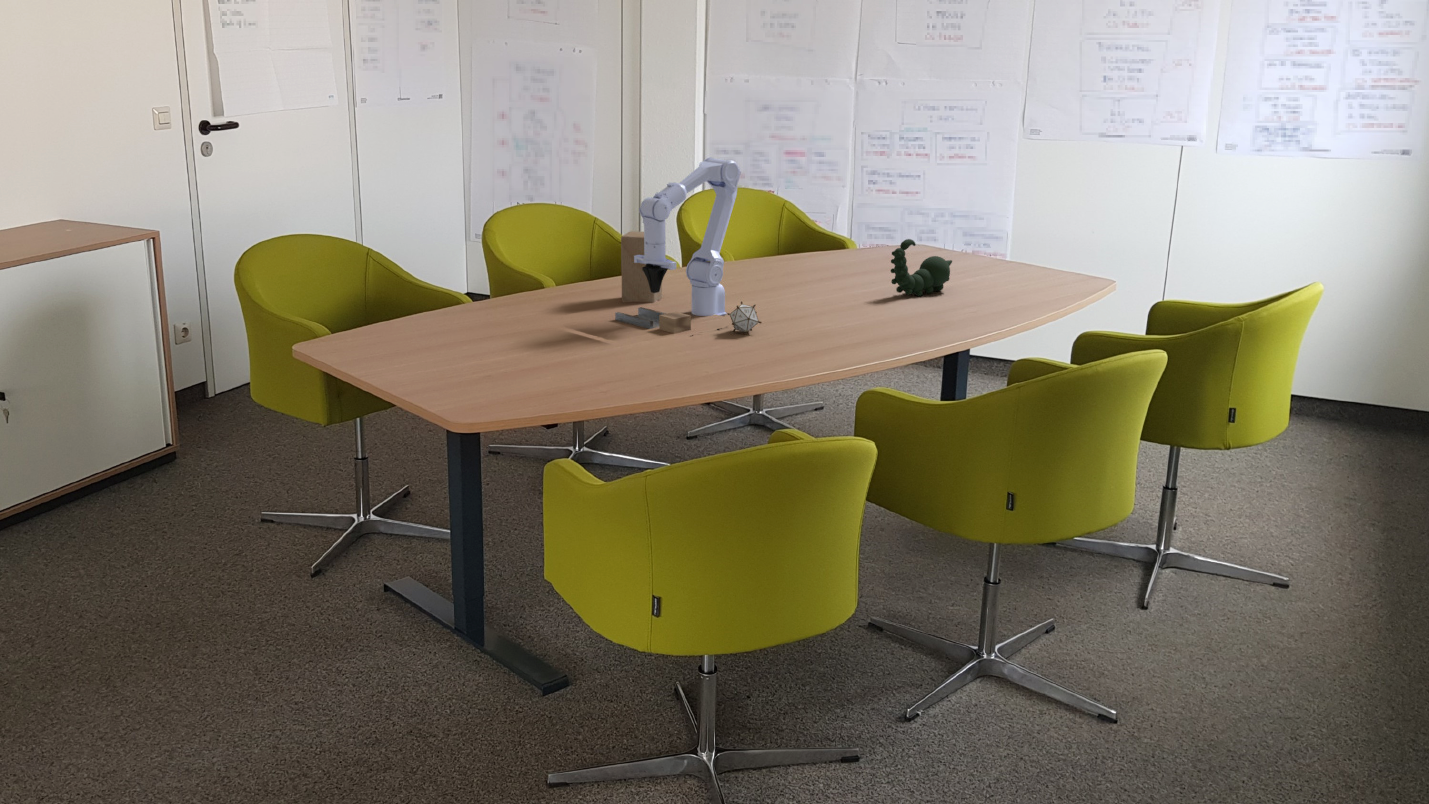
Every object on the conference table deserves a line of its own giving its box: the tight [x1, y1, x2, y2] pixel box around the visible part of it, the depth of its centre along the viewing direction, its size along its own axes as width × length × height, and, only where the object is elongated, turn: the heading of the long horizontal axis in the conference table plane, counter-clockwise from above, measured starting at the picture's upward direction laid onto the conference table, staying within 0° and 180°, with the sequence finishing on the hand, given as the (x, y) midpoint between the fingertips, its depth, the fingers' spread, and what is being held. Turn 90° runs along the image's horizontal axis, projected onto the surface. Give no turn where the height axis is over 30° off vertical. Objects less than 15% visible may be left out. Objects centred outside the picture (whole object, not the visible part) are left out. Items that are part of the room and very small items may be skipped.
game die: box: [726, 301, 763, 336], centre depth 323 cm, size 9×8×10 cm
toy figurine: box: [890, 238, 953, 297], centre depth 371 cm, size 9×19×25 cm
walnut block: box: [658, 311, 692, 334], centre depth 323 cm, size 6×6×4 cm
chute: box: [614, 306, 702, 333], centre depth 328 cm, size 10×24×3 cm, turn 46°
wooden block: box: [620, 230, 663, 304], centre depth 356 cm, size 10×10×20 cm
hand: (655, 292), depth 328 cm, fingers closed
